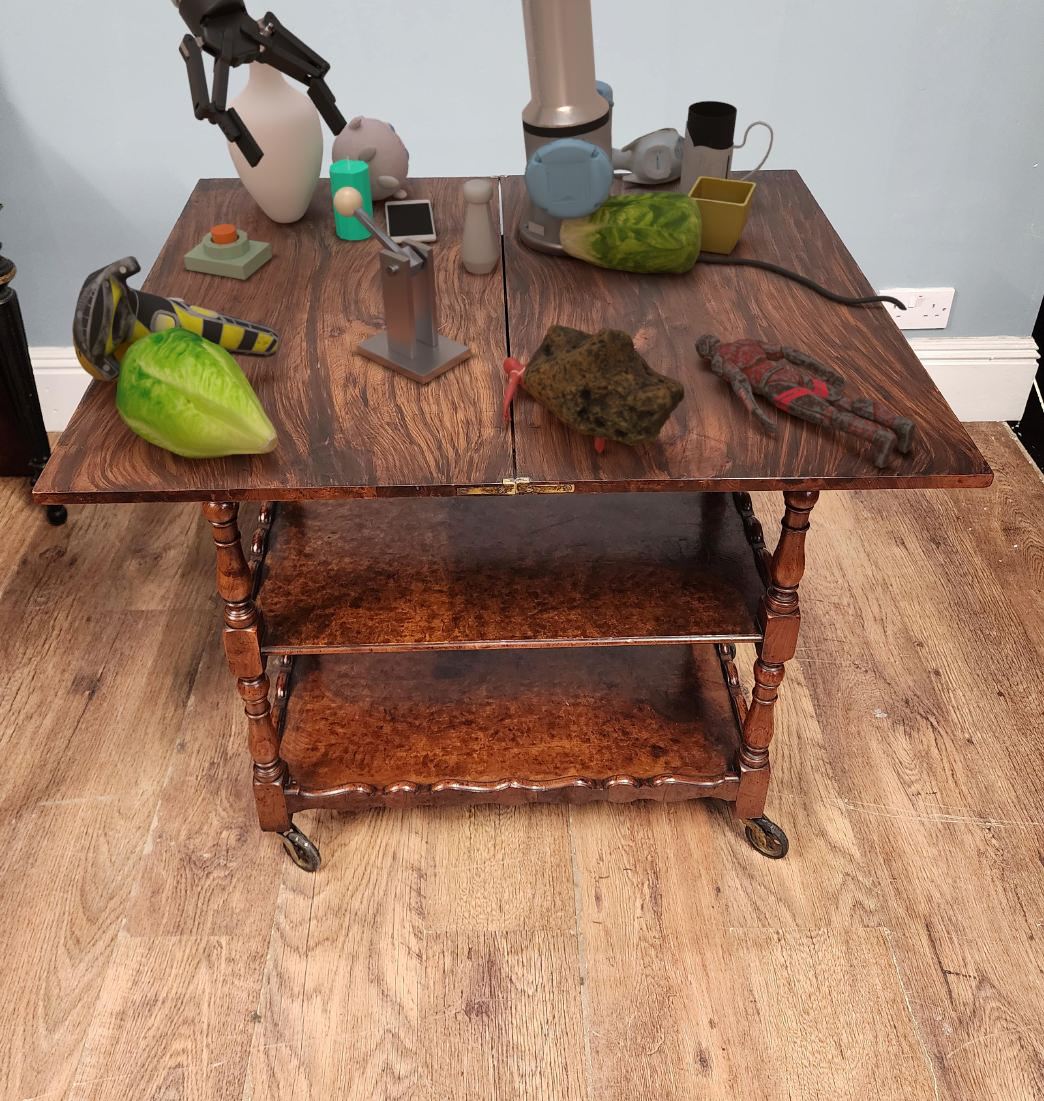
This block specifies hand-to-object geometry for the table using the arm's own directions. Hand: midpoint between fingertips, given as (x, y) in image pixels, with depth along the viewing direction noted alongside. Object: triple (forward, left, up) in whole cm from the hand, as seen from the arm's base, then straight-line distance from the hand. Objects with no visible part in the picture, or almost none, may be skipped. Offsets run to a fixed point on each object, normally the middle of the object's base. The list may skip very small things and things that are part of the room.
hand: (301, 145), depth 135 cm
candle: (+8, -25, -24) cm, 35 cm away
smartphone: (+1, -31, -23) cm, 38 cm away
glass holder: (-44, -54, -23) cm, 74 cm away
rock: (-53, +21, -13) cm, 58 cm away
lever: (-11, +4, -9) cm, 15 cm away
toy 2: (+9, +16, -19) cm, 27 cm away
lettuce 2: (-36, -28, -24) cm, 52 cm away
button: (+21, -9, -20) cm, 30 cm away
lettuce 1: (-2, +29, -23) cm, 37 cm away
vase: (+20, -26, -23) cm, 40 cm away
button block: (+21, -9, -23) cm, 32 cm away
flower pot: (-47, -39, -24) cm, 65 cm away
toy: (+7, -31, -16) cm, 36 cm away
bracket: (-16, +6, -23) cm, 29 cm away
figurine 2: (-78, +9, -21) cm, 81 cm away
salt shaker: (-15, -20, -24) cm, 35 cm away
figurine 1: (-47, +16, -22) cm, 55 cm away
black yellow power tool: (-1, +28, -12) cm, 31 cm away
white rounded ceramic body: (-32, -56, -18) cm, 67 cm away
